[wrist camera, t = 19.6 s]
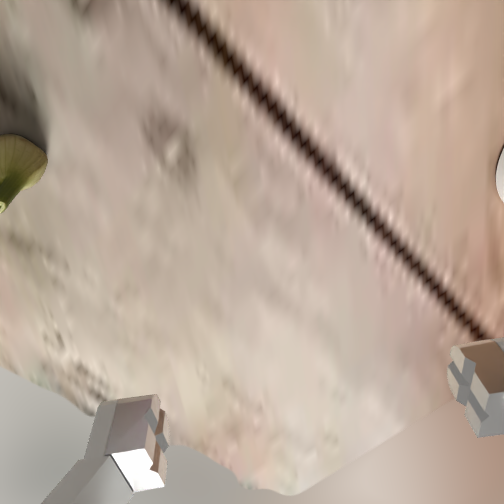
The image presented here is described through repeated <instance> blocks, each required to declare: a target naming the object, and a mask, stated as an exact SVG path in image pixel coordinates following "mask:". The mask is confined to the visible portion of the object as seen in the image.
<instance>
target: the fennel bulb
mask: <svg viewBox="0 0 504 504" xmlns="http://www.w3.org/2000/svg"><path fill="white" fill-rule="evenodd" d="M47 163H48V159H47V156H46V154H45V153H44V152H43V150H42V149H40V148H39V147H37V146H36V145H34V144H33V143H32V142H30V141H28V140H27V139H25V138H24V137H22V136H19V135H15V134H3V135H0V213H3V211H4V210H5V209H6V208H7V207H8V205H9V204H10V203H11V202H12V200H13V199H14V198H15V196H16V195H17V194H18V193H19V192H20V191H22V190H25V189H28V188H30V187H32V186H33V185H35V184H36V183H37V182H38V181H39V180H40V179H41V177H42V175H43V174H44V172H45V169H46V166H47Z"/></svg>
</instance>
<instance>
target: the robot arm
mask: <svg viewBox="0 0 504 504" xmlns="http://www.w3.org/2000/svg"><path fill="white" fill-rule="evenodd" d="M496 186H497V190H498V194H499V196H500V198H501V200H502V201H503V202H504V149H503V151H502V154H501V156H500V159H499V162H498V166H497V171H496ZM450 356H451V358H452V359H453V362H452V363H451V364H450V365H448V370H447V378H448V383H449V386H450V389H451V392H452V394H453V395H454V397H455V399H456V401H458V402H460V403H461V404H463V405H464V406H466V410H465V417H466V418H467V420H468V422H469V424H470V425H471V427H472V429H473V431H474V432H475V434H476V436H477V438H478V437H486V436H494V435H501V434H504V337H502V338H496V339H491V340H489V339H488V340H482V341H476V342H471V343H465V344H459V345H454V346H453V347H452V348H451V351H450ZM160 402H161V401H160V399H159V397H158V395H157V394H154V395H146V396H139V397H131V398H124V399H117V400H110V401H103V402H101V404H100V405H99V407H98V409H97V412H96V416H95V420H94V423H93V427H92V431H91V434H90V438H89V442H88V446H87V449H86V453H85V456H84V459H82V460H78V461H77V462H76V464H75V465H74V466H73V467H72V468H71V470H70V471H69V472H68V473H67V474H66V475H65V476H64V477H63V479H62V480H61V481H60V482H59V483H58V484H57V486H56V487H55V488H54V489H53V490H52V492H51V493H50V494H49V495H48V496H47V498H45V500H44V501H43V502H42V503H41V504H128V503H129V501H130V500H131V498H132V496H133V495H134V493H133V492H137V491H142V490H148V489H153V488H159V487H164V486H165V480H166V470H167V460H166V458H165V456H164V454H163V453H164V452H165V450H166V449H167V448H168V446H169V438H170V432H169V422H168V418H167V415H166V413H165V411H163V410H162V409H160Z"/></svg>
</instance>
